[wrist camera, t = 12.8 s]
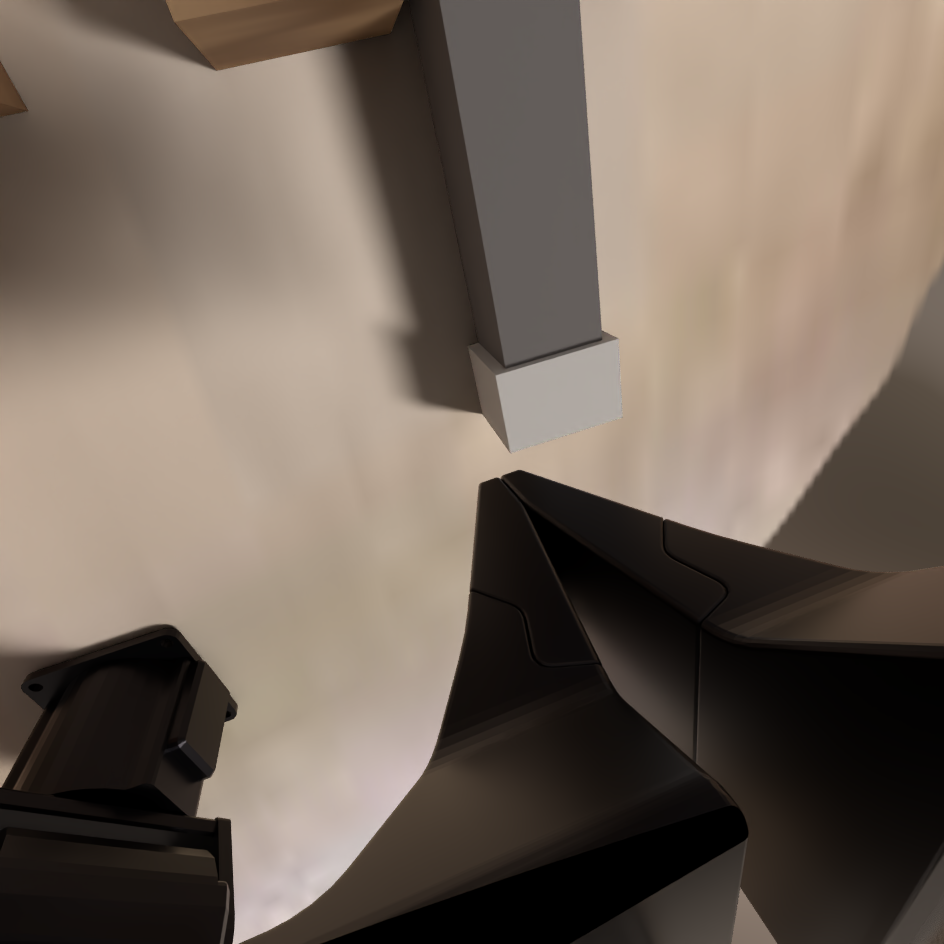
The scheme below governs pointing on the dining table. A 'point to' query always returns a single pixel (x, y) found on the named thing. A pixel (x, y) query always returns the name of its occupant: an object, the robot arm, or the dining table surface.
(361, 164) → the dining table surface
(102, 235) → the dining table surface
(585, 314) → the long grey plank
